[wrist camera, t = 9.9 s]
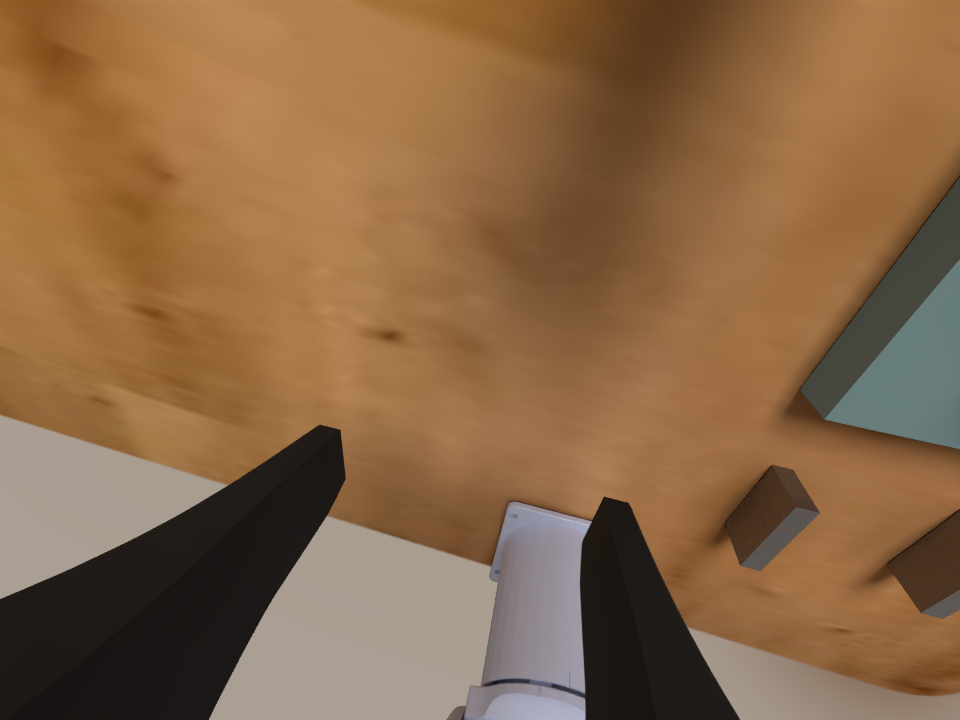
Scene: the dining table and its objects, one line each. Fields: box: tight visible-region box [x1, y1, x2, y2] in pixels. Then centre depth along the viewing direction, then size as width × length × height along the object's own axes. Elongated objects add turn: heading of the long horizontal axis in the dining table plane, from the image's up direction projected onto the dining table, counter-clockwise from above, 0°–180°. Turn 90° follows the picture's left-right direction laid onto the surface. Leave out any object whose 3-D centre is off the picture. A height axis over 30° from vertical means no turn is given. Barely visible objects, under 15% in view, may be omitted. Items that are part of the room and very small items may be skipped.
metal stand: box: [725, 465, 960, 619], centre depth 19 cm, size 5×10×2 cm, turn 82°
